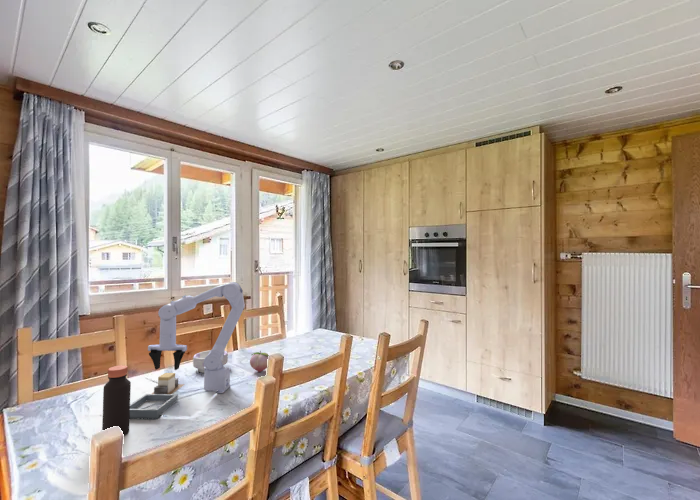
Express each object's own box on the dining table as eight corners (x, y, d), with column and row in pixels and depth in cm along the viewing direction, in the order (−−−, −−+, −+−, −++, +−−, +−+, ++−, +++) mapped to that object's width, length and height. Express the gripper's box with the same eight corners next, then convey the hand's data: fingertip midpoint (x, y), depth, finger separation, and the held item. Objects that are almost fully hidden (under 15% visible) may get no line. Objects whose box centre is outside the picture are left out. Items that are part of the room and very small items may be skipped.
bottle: (98, 442, 96) (101, 372, 96) (105, 431, 102) (107, 365, 102) (126, 437, 98) (128, 369, 99) (131, 427, 105) (133, 363, 105)
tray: (177, 402, 123) (177, 394, 123) (157, 419, 110) (157, 410, 110) (145, 402, 123) (145, 394, 123) (121, 418, 110) (121, 409, 110)
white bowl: (188, 369, 159) (189, 352, 159) (220, 363, 169) (220, 347, 169) (198, 378, 147) (199, 360, 148) (232, 371, 158) (232, 354, 158)
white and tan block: (174, 388, 134) (175, 373, 134) (168, 393, 129) (168, 377, 129) (164, 387, 134) (165, 372, 134) (157, 392, 129) (158, 377, 129)
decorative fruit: (272, 369, 161) (273, 348, 161) (266, 375, 153) (267, 353, 153) (253, 368, 162) (254, 347, 162) (247, 374, 153) (247, 352, 154)
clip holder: (184, 386, 138) (184, 377, 138) (167, 400, 125) (167, 389, 125) (165, 386, 138) (165, 376, 138) (146, 399, 125) (146, 389, 125)
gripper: (191, 332, 136) (190, 365, 135) (155, 332, 136) (154, 365, 135) (182, 336, 129) (181, 371, 128) (145, 336, 129) (144, 371, 128)
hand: (167, 369), depth 131 cm, fingers open, 7 cm apart
